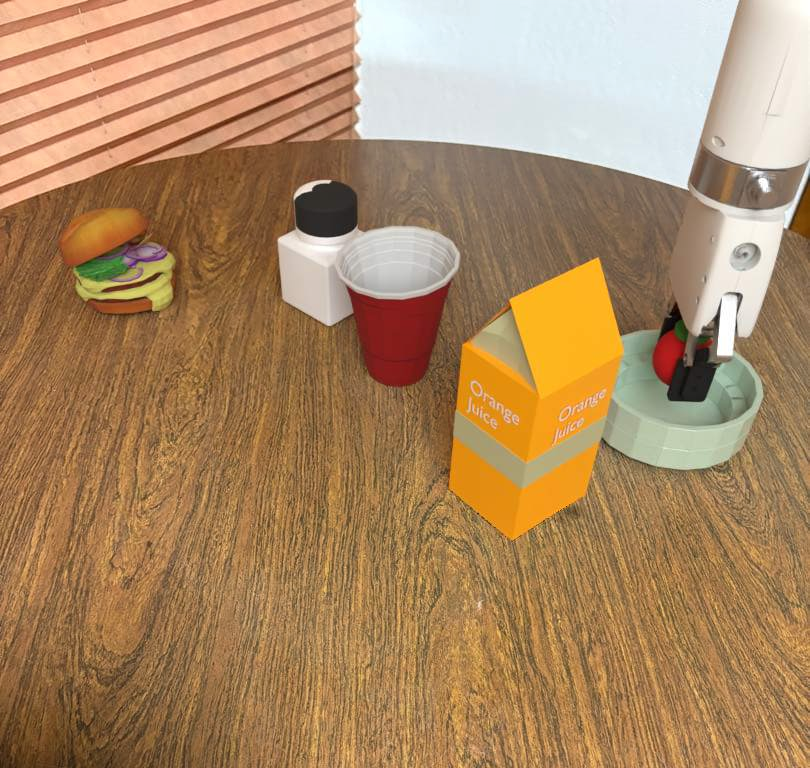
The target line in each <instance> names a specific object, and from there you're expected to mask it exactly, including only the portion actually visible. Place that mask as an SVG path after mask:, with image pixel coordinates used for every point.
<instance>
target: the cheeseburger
mask: <svg viewBox="0 0 810 768" xmlns="http://www.w3.org/2000/svg"><path fill="white" fill-rule="evenodd" d="M149 226H150V221H149V220H148V218H146V217H145V216H144V215H143V214H142V213H141V211H139V209H138V208H135V207H103V208H97V209H93V210H90V211H86V212H84V213H81V214H80V215H78V216H76V217H74V218H73V219H72V220H71V221H70V222H69V224H68V225H67V227H66V228H65V230H64V231H63V232H62V235H61V237H60V239H59V244H58V245H59V246H58V247H59V250H60V256H61V260H62V263H63V264H64V265H66V266H67V267H72V272H73V273H74V275H75V276H76V280H75V291H76V292H77V294H78V296H80V297H81V299H82V300H83V301H84V302H87V303H88V305H89V306H90V307H91V306H92V307H93V308H92V307H91V308H92V309H94V310H96V311H97V312H99V313H101V314H113V315H115V314H117V315H124V314H126V315H127V314H138V313H142V312H147V311H152V312H160V311H162V310H165V309H167V308H168V307H169V306H170V305H171V303H172V302H173V299H174V293H175V288H176V284H177V281H176V273H175V271H174V269H175V268H176V262H177V260H176V257H175V256H174V255H173V254H172V253H171V252H170V251H168V250H167V248H165V246H162V245H159V244H158V243H157V242H153V241H150V240H151V239H152V237H153V235H154V234H153V233H154V232H151V233H150V234H149V235H146V234H142V233H143V232H144V231H145V230H146V229H148V227H149ZM140 234H142V235H141V236H139V235H140Z"/></svg>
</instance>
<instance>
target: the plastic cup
mask: <svg viewBox="0 0 810 768" xmlns="http://www.w3.org/2000/svg"><path fill="white" fill-rule="evenodd" d="M364 232H365V233H363V234H361V235H358V236H356V237H354V238H352V239H350V240H349V241H348V242H347V243H346V244H345V245H344V246H343V247H342V248H341V249H340V250H339V251H338V253H337V257H336V260H335V264H334V265H335V268H336V270H337V272H338V275H339V277H340V279H341V281H342V282H343V283H344V284H345V285H346V287H347V290H348V293H349V296H350V299H351V304H352V308H353V316H354V317H353V318H354V321H355V327H356V330H357V335H358V339H359V342H360V344H361V349H362V354H363V359H364V364H365V366H366V369H367V371H368V374H369V376H370V377H371V378H372V379H373V380H375V381H376V382H377V383H380V384H382V383H383V384H382V385H385V386H387V385H389V386H388V387H398V388H400V387H405V386H411V385H413V384H416V383H418V382H419V381H421V380H422V379H423V378H424V376H425V375H426V374H427V370H429V365H430V362H431V356H432V354H433V353H432V352H433V349H434V348H435V344H436V340H437V336H438V332H439V328H440V324H441V320H442V316H443V312H444V307H445V303H446V299H447V298H448V295H449V291H450V288H451V285H452V281H453V280H454V279H453V278H454V277H455V276H456V275H457V273H458V270H459V266H460V260H461V253H460V251H459V249H458V247H457V246H456V245H455V243H454V241H453V240H451V239H450V238H448V237H446V236H445V235H443V234H442V233H441V232H439V231H436V230H432V229H428V228H424V227H421V226H415V225H412V226H411V225H409V226H408V225H390V226H385V227H380V228H374V229H369V230H367V231H364Z"/></svg>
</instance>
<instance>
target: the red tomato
mask: <svg viewBox="0 0 810 768" xmlns="http://www.w3.org/2000/svg"><path fill="white" fill-rule="evenodd" d="M707 326H710V325H709V324H708V325H707ZM688 333H689V331H688V329H687V328H686V326H685V323H684V321H683V319H681V320H679V321H678V322H677V323H676V325H675V328H674V329H673V330H671V331H669V332H668V333H666V334H665V335H664V336H663V337H662V338H661V339H660V340H659V341H658V343H657V344H656V346H655V349H654V352H653V357H652V363H653V368H654V371H655V373H656V375H657V377H658V378H659V379H660V380H661V381H662V382H663V383H664V384H666V385H667V386H670V383H671V379H672V376H673V373H674V370H675V367H676V364H677V361H678V358H679V359H682V358H683V357H684V352H685V347H686V342H687V338H688ZM711 339H712V337H699V341H698V345H697V350H698V349H700V348H702V347H709V346H711V344H712V340H711Z"/></svg>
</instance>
